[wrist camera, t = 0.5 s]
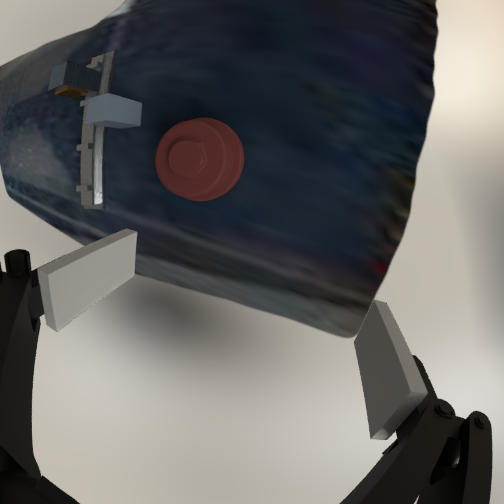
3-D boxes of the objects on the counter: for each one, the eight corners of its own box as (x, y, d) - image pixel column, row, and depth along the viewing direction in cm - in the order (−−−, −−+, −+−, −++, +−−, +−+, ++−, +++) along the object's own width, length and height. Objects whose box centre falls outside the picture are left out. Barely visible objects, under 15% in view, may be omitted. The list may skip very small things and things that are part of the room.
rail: (97, 58, 35) (56, 44, 24) (116, 51, 34) (76, 33, 23) (86, 207, 44) (42, 220, 33) (105, 208, 43) (59, 221, 33)
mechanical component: (263, 183, 37) (198, 203, 40) (243, 117, 35) (180, 140, 38) (244, 190, 26) (158, 217, 28) (216, 96, 24) (134, 133, 26)
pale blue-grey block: (142, 103, 37) (108, 93, 28) (140, 126, 38) (105, 120, 30) (120, 107, 37) (85, 99, 29) (118, 129, 39) (83, 124, 30)
